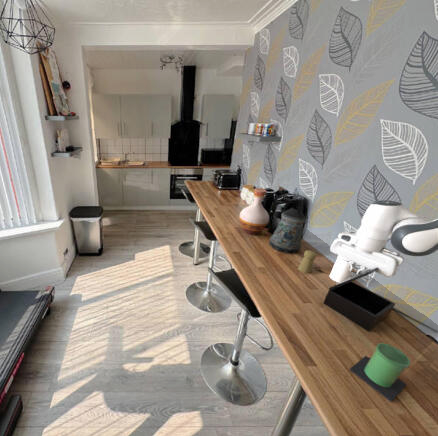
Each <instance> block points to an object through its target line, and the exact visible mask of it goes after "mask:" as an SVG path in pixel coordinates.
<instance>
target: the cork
mask: <svg viewBox="0 0 438 436" xmlns="http://www.w3.org/2000/svg"><path fill="white" fill-rule="evenodd" d="M317 256H318V254H317V252H315V251H314V250H310V249H308V250H305V251H304V253H303V258H302V259H301V261H300V263H299V265H298V267H297V269H298V271H299V272H301V273H304V274H312V272H313V267H314V261H315V259H317Z"/></svg>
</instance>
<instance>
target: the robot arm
mask: <svg viewBox="0 0 438 436" xmlns="http://www.w3.org/2000/svg"><path fill="white" fill-rule="evenodd" d="M354 231H355V230H345V231H341V232H340V233H339V234H338V235H337V238H335V239H334V240H333V241H332V243H331V245H330V247H329V250H330V252H331V253H333V254H335V255H337V256H338V255H339V256H342V257H344V258H346V259H348V260H350V262H349V263H350V267H351V268H350V271H351V272H352V273H353V274H355V275H358V274H360V273H362V272H363V270H364V271H365V270H366V269H367V270H369V269H371V270H372V269H374V268H378V269H379V270H377V271H375V272H374V273H377V274H379V275H382V276H384V277H386V278H390V277H394V276H395V275H396V274H397V272H398V271H399V267H400V266H401V265H402V264H403V263H404V260H405V259H404V256H402V255H401V254H403V255H406V256H409V257H410V256H411V257H425V256H429V255H431V254H434V253H435V252H437V251H438V218H435V219H434V220H430V219H429V218H427V217H426V216H422V215H420V214H418V213H415V212H413V211H412V210H410V209H409V208H407V207H406V206H404V204H403V203H401V202H399V201H395V200H376V201H374V202H372V203H370V204H369V206H368V207H367V209H366V211H365V212H364V214H363V216H362V218H361V222H360V226H359V228H357V230H356V231H357V232H354ZM389 239H390V244H391V246H392V247H393V248H394V249H395V250H396V251H393V250H392V249H389V248H386V246H387V243H388V241H389ZM354 263H357V264H356V265H359V266H360V267H359V268H358V267H356V266H355V264H354Z"/></svg>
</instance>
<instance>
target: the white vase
mask: <svg viewBox="0 0 438 436" xmlns="http://www.w3.org/2000/svg"><path fill="white" fill-rule="evenodd" d="M266 194H267V189H265V188H262V187H256V188H254V193H253V196H254V197H253V198H254V200H253V203H250V204H249V205H248V206H246V207H244V208H243V209H242V210H241V211H240V213H239V224H240V227H241V228H242V230H243V231H244V233H246V234H248V235H252V236H253V235H257V234H259V233H261V232H262V231H263V230H264V229H265V228H266V227H267V225H268V224H269V221H270V215H269V212H268V211H267V210H266V209H265V208H264V206H263V205H262V202H263V200H264V198H265V197H266Z"/></svg>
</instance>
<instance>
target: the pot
mask: <svg viewBox="0 0 438 436" xmlns="http://www.w3.org/2000/svg"><path fill="white" fill-rule="evenodd" d="M369 358H370V360H369V362H368V363H367V365H366V366H365V368H364V371H365V373H366V375H367V376H368V377H369V378H370V379H371V380H372V381H373V382H375V383H376V384H378V385H380V386H382V387H386V388H390V387H392V386H393V384H394V383H395V381H396V380H397V379H399V377H400V376H401V374H403V373H404V371H405V369H407V368H409V367H410V365H411V360H410V358H409V357H408V356H407V354H405V353H404V351H402V350H401V349H400V348H398V347H395V346H393V345H392V344H388V343H384V342H380V343H377V344H376V346H375V350H374V352H373V354H372V355H371V357H369Z"/></svg>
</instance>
